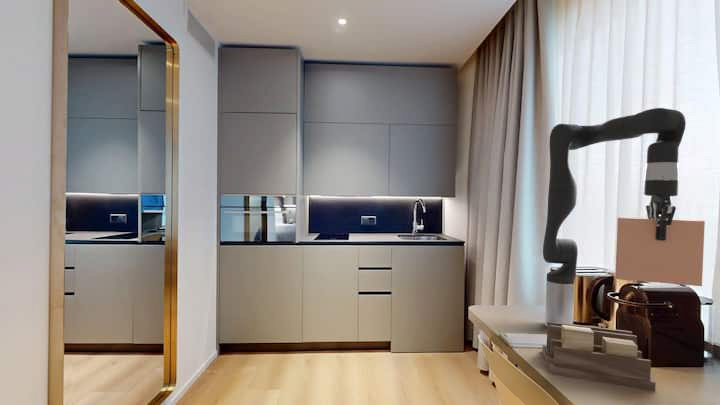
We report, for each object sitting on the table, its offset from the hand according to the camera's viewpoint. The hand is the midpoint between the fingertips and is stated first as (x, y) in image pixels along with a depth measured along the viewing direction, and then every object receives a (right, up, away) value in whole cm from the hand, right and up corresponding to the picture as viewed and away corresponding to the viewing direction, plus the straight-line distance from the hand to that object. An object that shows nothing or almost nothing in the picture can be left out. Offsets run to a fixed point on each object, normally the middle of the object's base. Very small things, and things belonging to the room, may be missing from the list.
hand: (658, 239), depth 108 cm
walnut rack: (-20, -36, -1) cm, 41 cm away
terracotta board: (0, -12, 0) cm, 12 cm away
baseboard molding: (-22, -37, +17) cm, 46 cm away
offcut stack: (-21, -34, -5) cm, 41 cm away
